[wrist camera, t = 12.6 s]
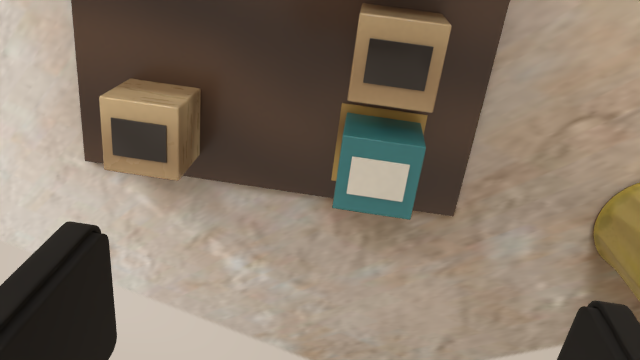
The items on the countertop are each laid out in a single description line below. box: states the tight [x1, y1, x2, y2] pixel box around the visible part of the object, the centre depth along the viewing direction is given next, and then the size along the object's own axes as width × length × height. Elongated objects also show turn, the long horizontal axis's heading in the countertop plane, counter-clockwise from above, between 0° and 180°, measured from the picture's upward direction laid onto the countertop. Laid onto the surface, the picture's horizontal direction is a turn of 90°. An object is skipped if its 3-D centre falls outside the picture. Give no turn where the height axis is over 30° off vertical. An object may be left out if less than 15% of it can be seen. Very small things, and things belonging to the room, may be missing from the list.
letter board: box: [71, 0, 510, 216], centre depth 27 cm, size 18×22×1 cm
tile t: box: [347, 3, 452, 113], centre depth 25 cm, size 4×4×4 cm
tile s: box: [332, 113, 426, 220], centre depth 27 cm, size 4×4×4 cm
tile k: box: [99, 79, 201, 181], centre depth 28 cm, size 4×4×4 cm
